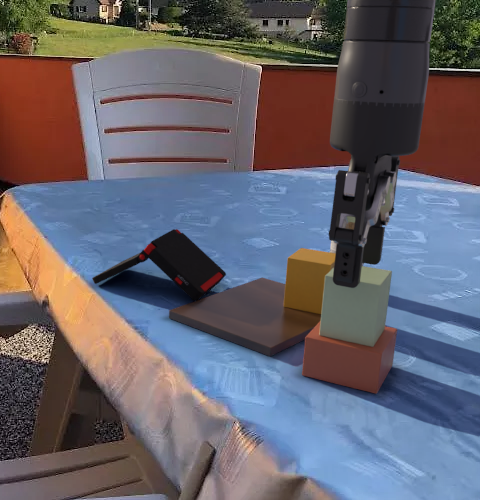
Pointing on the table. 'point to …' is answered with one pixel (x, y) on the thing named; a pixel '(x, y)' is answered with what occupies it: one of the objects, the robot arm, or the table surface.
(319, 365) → the base block
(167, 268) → the handheld gaming console
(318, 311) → the top block
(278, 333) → the board
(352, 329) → the middle block
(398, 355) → the table surface
